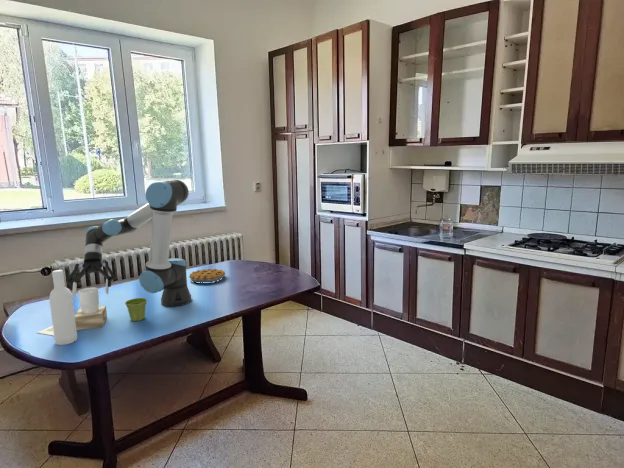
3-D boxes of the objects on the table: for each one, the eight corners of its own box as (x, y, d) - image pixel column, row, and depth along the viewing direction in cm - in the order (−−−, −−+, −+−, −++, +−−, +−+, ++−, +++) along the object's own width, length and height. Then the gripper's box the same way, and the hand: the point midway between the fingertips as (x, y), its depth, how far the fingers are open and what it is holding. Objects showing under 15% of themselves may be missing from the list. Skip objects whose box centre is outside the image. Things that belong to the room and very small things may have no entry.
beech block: (80, 320, 182) (79, 308, 181) (107, 317, 185) (105, 305, 184) (74, 330, 172) (72, 317, 170) (102, 327, 175) (100, 314, 174)
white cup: (104, 309, 180) (102, 288, 178) (89, 315, 172) (87, 293, 171) (91, 307, 182) (89, 286, 180) (76, 313, 175) (73, 291, 173)
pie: (220, 285, 234) (220, 277, 233) (184, 285, 234) (183, 277, 233) (228, 274, 255) (228, 267, 254) (195, 274, 255) (195, 267, 255)
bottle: (50, 343, 159) (40, 272, 154) (68, 335, 166) (59, 267, 161) (64, 346, 156) (55, 274, 151) (82, 338, 164) (73, 269, 158)
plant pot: (134, 324, 177) (133, 306, 176) (122, 320, 182) (120, 302, 181) (152, 317, 185) (151, 300, 184) (140, 313, 190) (138, 296, 188)
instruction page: (76, 328, 174) (75, 327, 174) (57, 336, 165) (57, 335, 165) (55, 324, 178) (55, 324, 177) (36, 332, 169) (36, 332, 169)
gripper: (122, 257, 198) (121, 294, 187) (66, 261, 190) (61, 300, 179) (120, 249, 192) (118, 287, 181) (61, 253, 184) (56, 293, 173)
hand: (90, 294), depth 180 cm, fingers open, 13 cm apart
